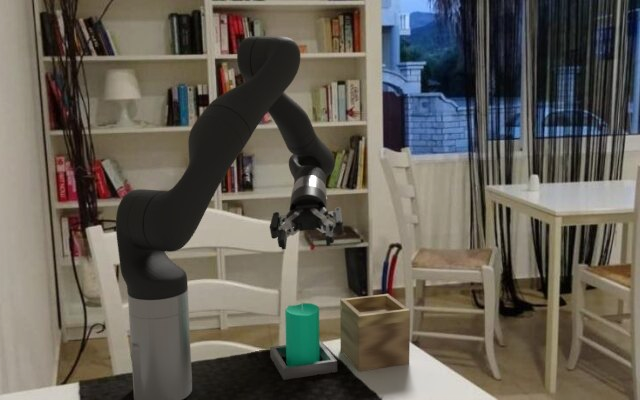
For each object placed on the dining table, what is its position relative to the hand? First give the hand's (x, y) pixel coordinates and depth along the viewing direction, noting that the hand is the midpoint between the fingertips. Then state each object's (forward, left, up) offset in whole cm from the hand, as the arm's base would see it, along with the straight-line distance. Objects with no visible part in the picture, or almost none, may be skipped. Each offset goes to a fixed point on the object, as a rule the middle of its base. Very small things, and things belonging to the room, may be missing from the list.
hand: (305, 243), depth 118 cm
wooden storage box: (+10, -10, -20) cm, 24 cm away
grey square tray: (-3, -9, -20) cm, 22 cm away
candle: (-3, -9, -20) cm, 22 cm away
